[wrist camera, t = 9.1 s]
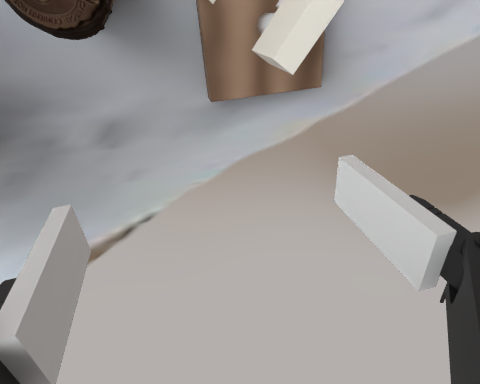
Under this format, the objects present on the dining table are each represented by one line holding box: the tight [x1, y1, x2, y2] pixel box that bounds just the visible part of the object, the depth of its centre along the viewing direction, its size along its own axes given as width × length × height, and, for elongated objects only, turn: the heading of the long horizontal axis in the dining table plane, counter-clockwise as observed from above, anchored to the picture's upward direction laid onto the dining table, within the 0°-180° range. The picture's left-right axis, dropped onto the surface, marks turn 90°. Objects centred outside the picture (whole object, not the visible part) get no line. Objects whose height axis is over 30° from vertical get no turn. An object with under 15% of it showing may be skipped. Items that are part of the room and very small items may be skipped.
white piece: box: [252, 0, 345, 75], centre depth 30 cm, size 2×12×12 cm, turn 144°
